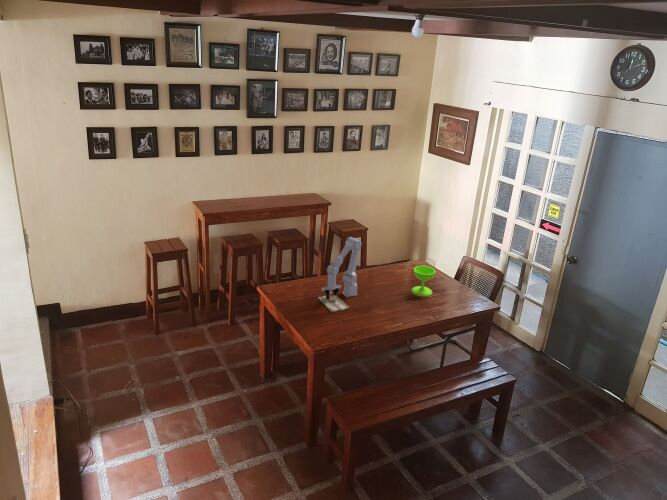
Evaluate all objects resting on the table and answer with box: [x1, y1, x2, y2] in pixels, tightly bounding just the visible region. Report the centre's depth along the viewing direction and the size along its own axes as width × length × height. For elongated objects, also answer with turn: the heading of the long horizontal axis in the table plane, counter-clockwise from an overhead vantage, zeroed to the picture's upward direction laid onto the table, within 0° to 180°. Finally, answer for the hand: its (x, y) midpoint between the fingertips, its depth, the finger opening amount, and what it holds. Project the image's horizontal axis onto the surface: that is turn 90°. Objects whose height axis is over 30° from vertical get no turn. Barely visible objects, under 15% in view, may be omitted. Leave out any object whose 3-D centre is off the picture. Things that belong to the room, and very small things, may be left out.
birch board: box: [317, 294, 350, 313], centre depth 378 cm, size 14×22×1 cm, turn 26°
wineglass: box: [410, 265, 436, 298], centre depth 399 cm, size 16×16×18 cm
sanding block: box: [325, 291, 336, 302], centre depth 380 cm, size 8×4×4 cm, turn 26°
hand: (331, 298), depth 380 cm, fingers closed on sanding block, 4 cm apart
